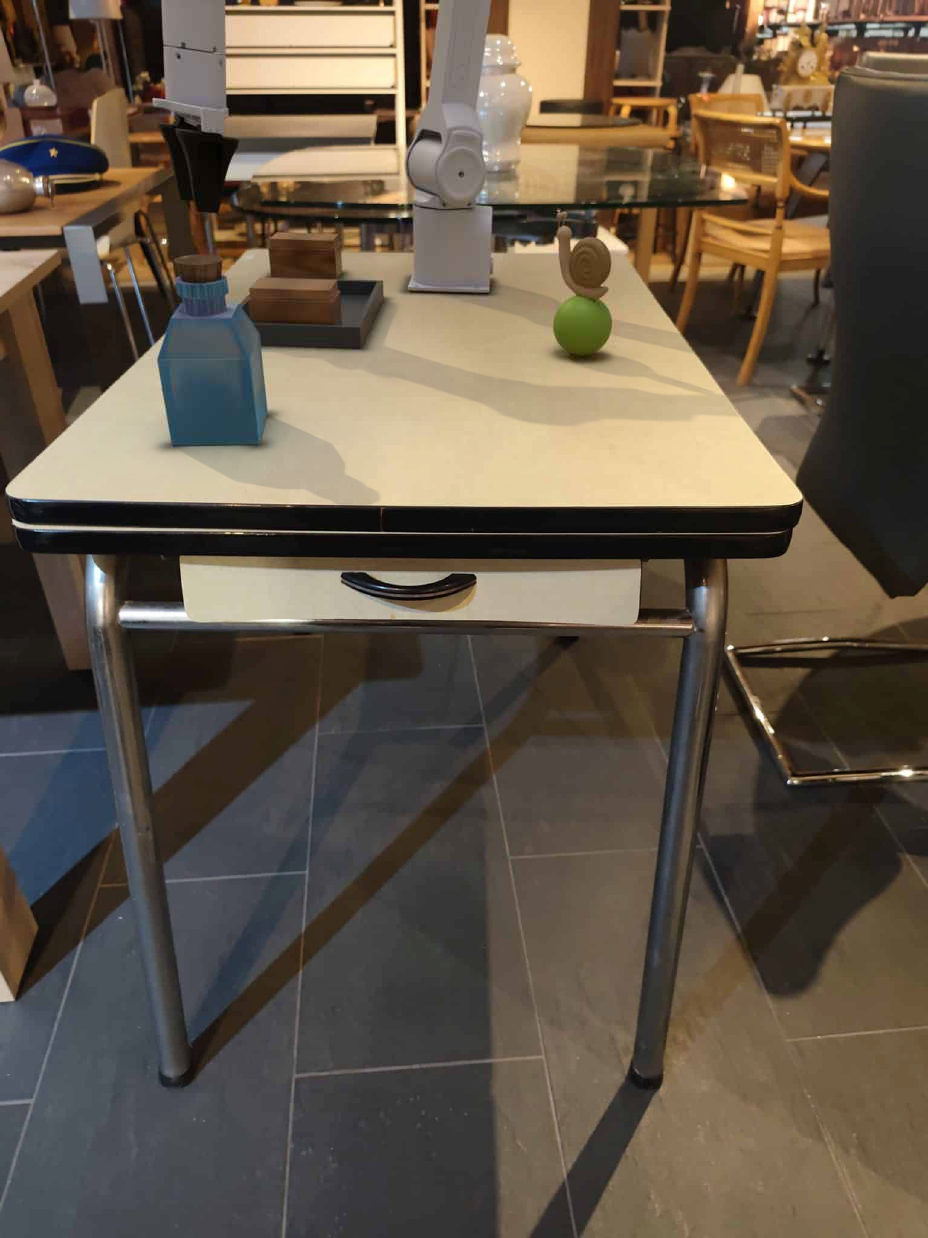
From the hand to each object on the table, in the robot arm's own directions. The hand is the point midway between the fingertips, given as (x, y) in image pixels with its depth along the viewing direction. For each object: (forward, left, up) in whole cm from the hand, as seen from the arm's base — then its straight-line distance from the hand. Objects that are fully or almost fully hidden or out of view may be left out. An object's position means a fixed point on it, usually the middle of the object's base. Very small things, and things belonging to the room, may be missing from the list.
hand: (198, 205), depth 91 cm
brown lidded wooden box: (-8, -15, -10) cm, 19 cm away
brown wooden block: (-12, +11, -9) cm, 19 cm away
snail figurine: (-39, +14, -10) cm, 42 cm away
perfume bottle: (-11, +36, -10) cm, 39 cm away
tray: (-12, +5, -10) cm, 16 cm away
